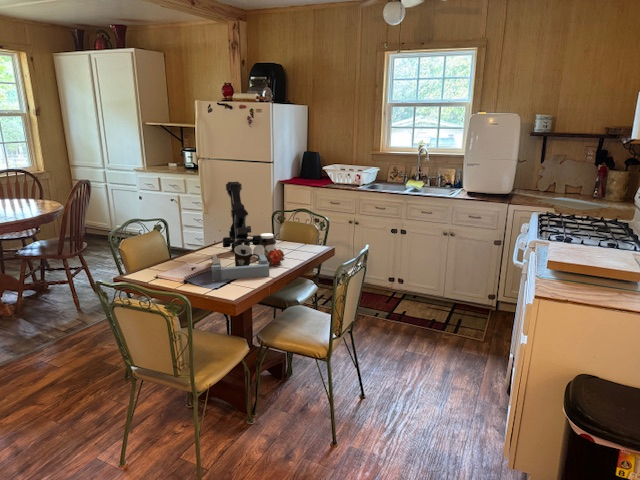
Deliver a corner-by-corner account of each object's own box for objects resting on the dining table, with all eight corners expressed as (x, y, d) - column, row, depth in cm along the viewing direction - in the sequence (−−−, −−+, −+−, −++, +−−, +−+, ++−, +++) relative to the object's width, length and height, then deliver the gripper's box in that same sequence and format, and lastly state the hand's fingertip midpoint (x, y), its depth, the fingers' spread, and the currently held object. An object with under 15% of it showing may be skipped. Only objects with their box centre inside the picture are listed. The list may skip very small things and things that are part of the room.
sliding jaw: (211, 261, 231) (210, 249, 229) (218, 261, 231) (217, 249, 230) (214, 277, 207) (213, 263, 205) (221, 276, 208) (221, 263, 206)
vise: (210, 271, 216) (210, 258, 214) (264, 267, 223) (264, 254, 221) (212, 281, 203) (211, 267, 201) (269, 276, 210) (269, 262, 208)
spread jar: (278, 253, 246) (277, 233, 243) (273, 259, 235) (273, 238, 232) (256, 253, 247) (255, 232, 244) (251, 259, 236) (250, 237, 233)
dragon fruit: (283, 263, 233) (271, 273, 224) (271, 253, 235) (258, 262, 225) (290, 253, 229) (278, 262, 219) (278, 242, 230) (265, 251, 220)
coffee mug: (229, 267, 218) (230, 250, 212) (240, 259, 224) (241, 242, 219) (248, 276, 214) (250, 260, 209) (259, 268, 221) (261, 252, 215)
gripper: (221, 221, 216) (224, 249, 209) (260, 219, 221) (264, 246, 214) (221, 233, 226) (224, 260, 218) (258, 231, 231) (262, 257, 223)
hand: (243, 256), depth 218 cm, fingers closed
